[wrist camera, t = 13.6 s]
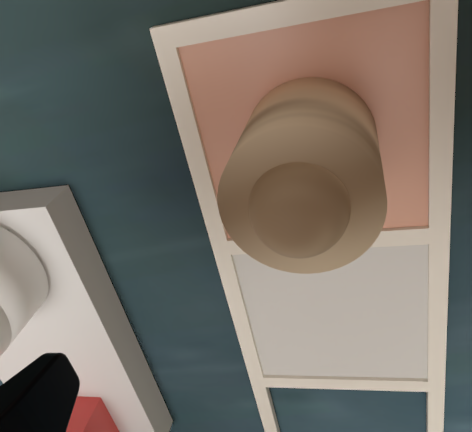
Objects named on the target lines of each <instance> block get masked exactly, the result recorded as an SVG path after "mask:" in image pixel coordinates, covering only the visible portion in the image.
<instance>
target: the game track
mask: <svg viewBox="0 0 472 432" xmlns="http://www.w3.org/2000/svg"><path fill="white" fill-rule="evenodd" d="M457 22H458V0H278V1H273V2H269V3H264V4H259V5H254V6H249V7H244V8H240V9H235V10H230V11H225V12H220V13H215V14H211V15H206V16H201V17H196V18H191V19H186V20H182V21H177V22H172V23H167V24H162V25H157V26H153V27H152V28H150V33H151V36H152V40H153V43H154V47H155V50H156V54H157V57H158V61H159V64H160V68H161V71H162V75H163V78H164V82H165V85H166V89H167V92H168V96H169V99H170V103H171V106H172V110H173V113H174V117H175V120H176V124H177V127H178V131H179V134H180V138H181V141H182V145H183V148H184V152H185V155H186V159H187V162H188V166H189V169H190V172H191V176H192V179H193V183H194V186H195V190H196V193H197V197H198V200H199V204H200V207H201V211H202V214H203V218H204V221H205V225H206V228H207V232H208V235H209V239H210V242H211V246H212V249H213V253H214V256H215V260H216V263H217V267H218V270H219V274H220V277H221V281H222V284H223V288H224V291H225V295H226V298H227V302H228V305H229V309H230V312H231V315H232V319H233V322H234V326H235V329H236V333H237V336H238V340H239V343H240V347H241V350H242V354H243V357H244V361H245V364H246V368H247V371H248V375H249V378H250V382H251V385H252V389H253V392H254V396H255V399H256V403H257V406H258V410H259V413H260V417H261V420H262V424H263V427H264V431H265V432H280V429H279V425H278V421H277V417H276V414H275V410H274V406H273V402H272V398H271V394H270V390H269V387H275V388H309V389H343V390H377V391H411V392H426V432H443V427H444V398H445V369H446V340H447V311H448V282H449V254H450V225H451V196H452V167H453V138H454V109H455V80H456V51H457ZM304 77H321V78H326V79H331V80H334V81H337V82H339V83H341V84H343V85H346V86H347V87H349V88H350V89H352V90H353V91H354V92H356V93H357V94H358V95H359V96H360V97H361V98H362V99H363V100H364V102H365V103H366V104H367V106H368V107H369V109H370V111H371V113H372V115H373V117H374V120H375V124H376V129H377V135H378V142H379V148H380V155H381V161H382V168H383V174H384V181H385V187H386V194H387V214H386V219H385V223H384V225H383V228H382V231H381V232H380V234H379V236H378V238H377V239H376V241H375V242H374V243H373V245H372V246H371V247H370V248H369V249H368V250H367V251H366V252H365V253H364V254H363V255H361V256H360V257H359V258H357V259H356V260H354V261H352V262H351V263H349V264H347V265H345V266H343V267H340V268H338V269H334V270H331V271H327V272H322V273H313V274H298V273H290V272H285V271H281V270H277V269H274V268H271V267H269V266H266V265H264V264H262V263H260V262H258V261H257V260H255V259H253V258H252V257H250V256H249V255H248V254H246V253H245V252H244V251H243V250H242V249H240V248H239V247H238V246H237V245H236V243H235V242H234V241H233V240H232V239H231V237H230V236H229V234H228V233H227V231H226V229H225V227H224V225H223V223H222V220H221V217H220V214H219V210H218V202H217V193H218V186H219V182H220V178H221V175H222V173H223V171H224V169H225V167H226V165H227V163H228V161H229V159H230V157H231V155H232V153H233V151H234V149H235V147H236V145H237V143H238V141H239V139H240V137H241V135H242V133H243V131H244V129H245V126H246V124H247V122H248V120H249V118H250V116H251V114H252V112H253V111H254V109H255V107H256V106H257V104H258V103H259V102H260V100H261V99H262V98H263V97H264V96H265V95H266V94H267V93H268V92H270V91H271V90H272V89H274V88H275V87H277V86H279V85H281V84H283V83H285V82H288V81H290V80H294V79H298V78H304Z"/></svg>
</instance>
